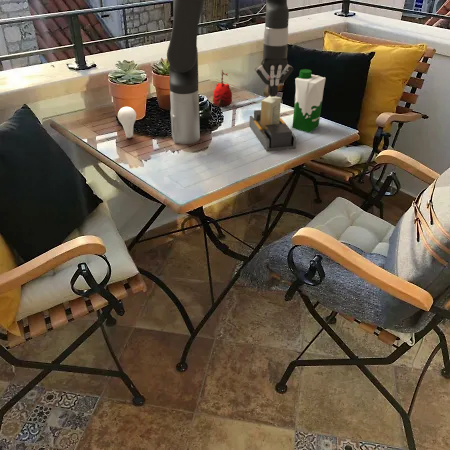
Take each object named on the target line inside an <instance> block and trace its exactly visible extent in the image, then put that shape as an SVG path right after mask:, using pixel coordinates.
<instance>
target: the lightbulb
mask: <svg viewBox="0 0 450 450" xmlns="http://www.w3.org/2000/svg"><path fill="white" fill-rule="evenodd" d="M117 119H118V121H119V122H120V124H121V125H122V127H123V131H124V132H125V138H128V139H131V138H133V136H134V124H135V122H136V121H137V112H136V110H134V109H133V108H132V107H130V106H123V107H121V108H120V109H119V111H118V113H117Z"/></svg>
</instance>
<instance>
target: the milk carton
mask: <svg viewBox="0 0 450 450" xmlns="http://www.w3.org/2000/svg"><path fill="white" fill-rule="evenodd" d="M312 73H313V72H312V70H311V69H307V68H302V69H300V70H299V74H298V75H299V76H297V77H296V78H294V80H295V82H294V84H295V94H294V108H293V117H292V125H291V128H292V129H294V130H297V131H302V132H304V133H312V132H313V131H315V130H316V129H317V128H319V126H320V120H321V111H322V106H323V105H322V103H323V96H324V88H325V84H326V77H325V76H324V77H323V76H320V75H315V74H312Z"/></svg>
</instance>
